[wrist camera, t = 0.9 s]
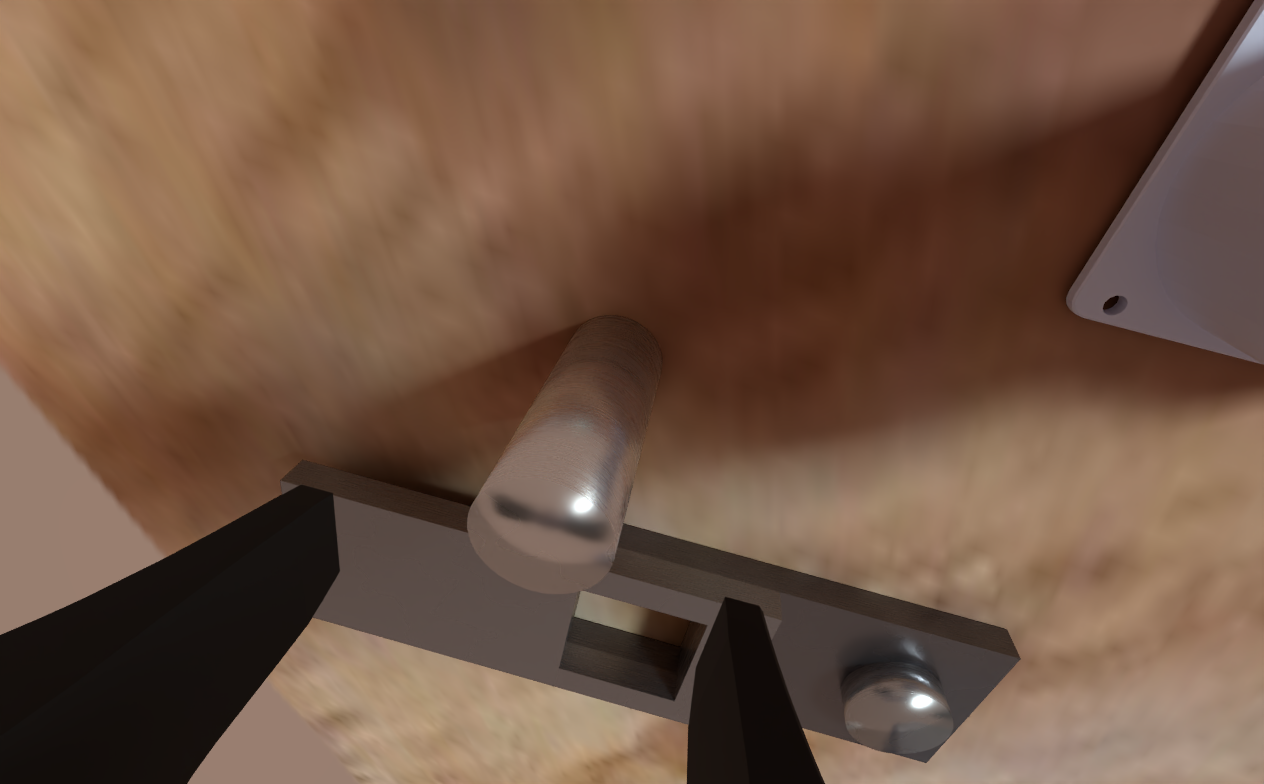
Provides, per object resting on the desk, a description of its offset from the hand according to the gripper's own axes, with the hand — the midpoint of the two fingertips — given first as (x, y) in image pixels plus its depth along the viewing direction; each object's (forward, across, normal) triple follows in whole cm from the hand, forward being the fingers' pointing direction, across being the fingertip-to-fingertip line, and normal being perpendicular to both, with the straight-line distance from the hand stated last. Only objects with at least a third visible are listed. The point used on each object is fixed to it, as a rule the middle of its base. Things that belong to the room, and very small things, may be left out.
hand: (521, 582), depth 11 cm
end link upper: (+9, +1, +10) cm, 14 cm away
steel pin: (+9, 0, 0) cm, 9 cm away
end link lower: (+9, -7, +10) cm, 15 cm away
